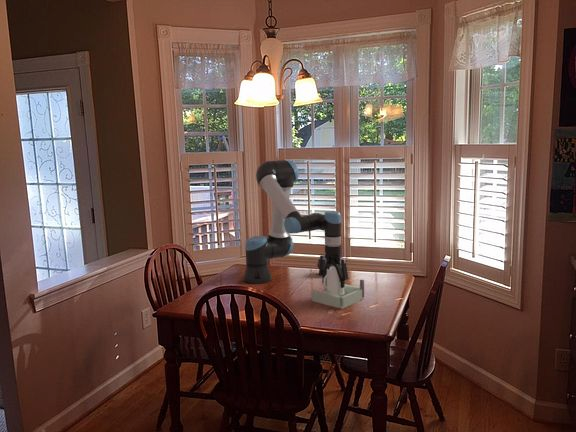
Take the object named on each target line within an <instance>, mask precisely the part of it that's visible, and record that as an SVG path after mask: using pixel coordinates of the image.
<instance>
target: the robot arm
mask: <svg viewBox="0 0 576 432" xmlns="http://www.w3.org/2000/svg"><path fill="white" fill-rule="evenodd" d="M299 174H300V173H299V168H298V166H297V164H296V163H295V162H294V160H290V159H280V160H267V161H264V162H262V163H260V165H258V167H257V169H256V172H255V179H256V184H257V185H258V186H259V188H260V189H261V190H264V192H265V193H266V194H267V196H268V197H269V199H270V200H271V202H272V217H271V230H269V232H268V237H267V236H265V235H255V236H251V237H249V238H247V239H246V241H245V243H244V244H245V247H244V250H245V269H244V274H243V278H242V279H243V282H244V281H245V283H246V282H248V283H247V284H255V285H256V284H266V283H269V282H271V281H272V273H271V271H270V268H269V264H268V263H269V262H268V260H271V259H272V260H273V259H277V258H284V257H287V256H289V255H290V254H291V253H292V252H293V249H294V241H293V238H292V236H291V234H299V233H304V232H312V231H324V253H325V254H322V255H320V256H319V259H320V268H318V275H319V276H320V275H321V276H320V277H322V281H321V282H322V284H323V285H324V278H325V276H326V274H327V269H328V270H329V268H330V266H331V265H334V267H335V268H336V270H337V273H338V276H339V279H340V281H338V283H339V295H341V294H343V288H344V286H345V281H347V280H349V276H348V275H349V274H348V266H347V258H342V256H341V255H342V246H341V244H342V215H341V213H340V211H334V210H333V211H329V210H328V211H326V212H325V213H324V214H323V213H319V212H311V213H310V214H306V215H301V214H300V211H299V210H298V209H297V207H296V206H295V204H294V203H293V202H292V201H291V199H290V195H291V189H292V188H293V187H294V183H295V182H297V181H298V179H299V177H300V175H299ZM325 260H327V261H326V266H325ZM341 268H342V269H341ZM325 285H326V287H327V277H326V279H325ZM323 292H327V289H326V288H325V287H324V286H323Z"/></svg>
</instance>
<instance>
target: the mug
mask: <svg viewBox="0 0 576 432" xmlns="http://www.w3.org/2000/svg"><path fill="white" fill-rule="evenodd" d="M341 269H342V268H341ZM326 277H327V287H326V285H325V279H326ZM338 281H340V279H339V276H338V273H337V270H336V268H335V267H334V266H333V267H330V268H329V270H328V269H327V274H326V276H325V278H324V284H323V288H324V287H325V288H326V289H327V291H325V293H328V294H332V295H336V296H340V295H339V283H338ZM343 294H344V288H343ZM343 294H341V295H343Z"/></svg>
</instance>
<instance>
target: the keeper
mask: <svg viewBox="0 0 576 432" xmlns="http://www.w3.org/2000/svg"><path fill="white" fill-rule="evenodd" d="M364 299H365V279H359V287H358V286H354V285H350V284H345V286H344V294H343V295H340V296H336V295H332V294H328V293H326V292H325V291H319V290H314V289H312V290H311V302H314V303H317V304H322V305H326V306H329V307H333V308H338V309H341V310H343V309H345V308H347V307H350V306H352V305H354V304H356V303H358V302H360V301H362V300H364Z"/></svg>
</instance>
